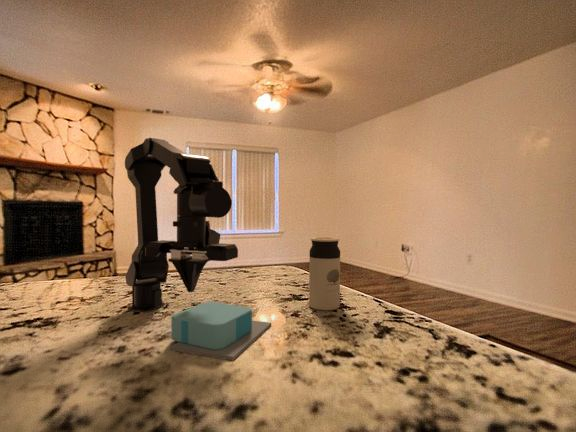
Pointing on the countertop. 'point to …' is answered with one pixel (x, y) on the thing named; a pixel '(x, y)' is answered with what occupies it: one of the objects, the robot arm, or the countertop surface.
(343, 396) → the countertop surface
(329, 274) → the travel mug
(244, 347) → the mat
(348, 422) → the countertop surface
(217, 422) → the countertop surface
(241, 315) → the data package
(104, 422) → the countertop surface
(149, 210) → the robot arm
